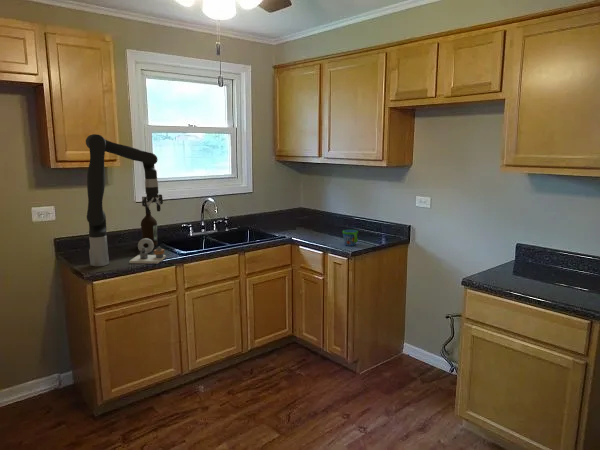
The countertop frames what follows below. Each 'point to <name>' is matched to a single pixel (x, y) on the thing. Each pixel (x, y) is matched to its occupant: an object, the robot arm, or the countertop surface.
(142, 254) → the stand rod
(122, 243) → the countertop surface
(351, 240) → the snack cup
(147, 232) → the olive oil
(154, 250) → the ring
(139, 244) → the donut
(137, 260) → the board
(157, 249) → the hub post
